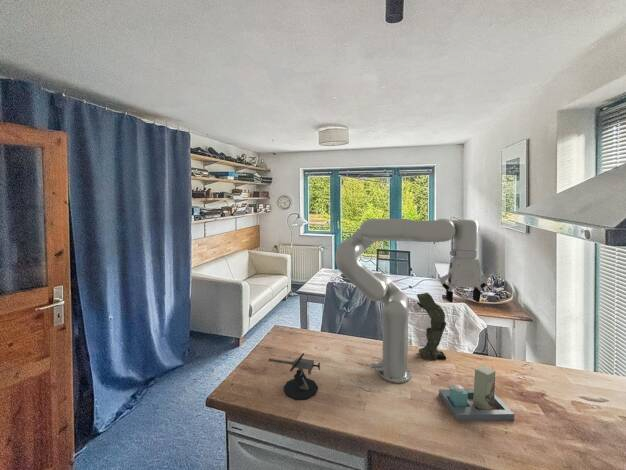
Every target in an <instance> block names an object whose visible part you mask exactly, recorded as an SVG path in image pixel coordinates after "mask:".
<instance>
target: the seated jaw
mask: <svg viewBox="0 0 626 470" xmlns="http://www.w3.org/2000/svg"><path fill="white" fill-rule="evenodd" d="M449 389H450V393H449V401H450V402H451V404H452V405H453V406H454V407H467V398H468V394H467V392H466V391H465V390H464V389H465V387H464V386H463V385H460V384H454V385H453V386H449ZM468 399H469V398H468Z"/></svg>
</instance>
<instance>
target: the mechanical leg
mask: <svg viewBox="0 0 626 470" xmlns="http://www.w3.org/2000/svg"><path fill="white" fill-rule="evenodd" d="M416 297H417V299H418V301H417V302H416V305H418V307H419V308H421V309H423V310H424V311H426V314H427V315H428V316H429V318H430V319H431V320H430V327H427V328H426V329H425V330H426V331H425V332H426V333H425V334H426V335H425V336H426V337H425V338H426V339H427V340H426V341H427V342H426V344H425V345H424V346H423V347H421V348H418V353H419V355H420V358H421V359H424V360H425V359H426V360H436V361H437V360H438V361H439V360H447V355H445V353H444V352H443V351H441V350H439V349H438V347H439V345H440V343H441V340H442V337H443V334H444V331H445V329H446V327H447V322H446V321H445V320H446V313H445V311H444V309H443V308H442V306H440V304H437V303H436V302H435V300H434V299H433V297H432V295H431V293H428V292H424V293H418V294H417V295H416Z"/></svg>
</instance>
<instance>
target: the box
mask: <svg viewBox="0 0 626 470" xmlns="http://www.w3.org/2000/svg"><path fill="white" fill-rule="evenodd" d="M496 374H497V373H496V370H494V369H492V368H490V367H487V366H486V365H481V366H478V367H476V368H475V369H474V380H473V381H474V382H473V389H474V397H473V398H472V399H473V400H472V404H473V405H474V407H475V408H476V409H478V410H493V408H494V405H495V404H494V394H495V388H496Z"/></svg>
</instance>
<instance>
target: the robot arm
mask: <svg viewBox="0 0 626 470" xmlns="http://www.w3.org/2000/svg"><path fill="white" fill-rule="evenodd" d="M478 235H479V222H478V221H477V220H474V219H457V220H456V219H455V220H454V219H447V218H439V219H437V220H435V219H434V220H415V219H409V218H368V219H366V220H364V221H363V222H362V223H361V224H360V227H359V228H358V229H357V230H356V231H355V232H354V233H353V234H352V235H351V236H350V237H349V238H346V239H344V240H343V241H342V242H341V243H340V244H339V245H338V246H337V248H336V251H335V263H336V266H337V269H338V270H339V272H340V273H341V274H342V275H343V276H344V277H345V278H346V279H348V281H349V282H351V283H352V285H354V287H356V288H357V289H358V291H360V292H361V293H362V294H363V295H364V296H365V297H366V298H367V299H369V300H370V301H372V302H381V303H382V304H383V307H382V314H381V316H382V359H380V360H379V361H380V362H378V363H375V362H373V363H372V362H370V364H369V365H370V366H369V367H370V369H371V370H373V369H374V370H375V372H378V375H379V377H380V378H382V379H383V380H385V381H387V382H390V383H394V384H401V383H403V384H404V383H406V382H408V381H410V380H411V378H412V372H411V370H410V369H409V368H408V346H409V340H408V339H409V311H410V310H409V309H410V300H409V297H408V296H407V294H406V293H405V292H404V291H403V290H402V289H401V288H400V287H399V286H397V285H396V283H394V282H393V280H392V279H390V278H388V277H387V276H386V275H385V274H382V273H379V272H374V273H373V272H372V271H371V270H370V269H369V268H368V267H367V266H366V265H365V264H363V263H362V262H360V261H359V259H358V257H359V256H361V255H362V254H363V252H365V251H366V250H368V248H369V247H371V246H372V244H374V243H375V242H386V241H387V242H417V243H418V242H420V243H421V242H422V243H423V242H424V243H444V242H445V243H446V242H448V241H451V240H452V239H453V249H452V250H451V251H449V255H450V256H452V257H451V258H450V262H449V266H448V273H447V274H444V276H441V277H439V282H440V284H441V286H442V287H443V288H444V289H445V299H446V300H447V302H449V303H453V302H454V291H453V289H454V288H455V287H456V288H473V289H472V300H474V301H475V302H477V303H479V302H480V299H481V292H482V291H483V289H484V288H485V287H487V283H488V281H489V278H488V277H486V276H484V275H482V270H481V269H482V268H481V262H480V258H477V255H478V254H477V253H478V240H479V239H478V238H479V237H478ZM446 281H447V282H448V283H446Z"/></svg>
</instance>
